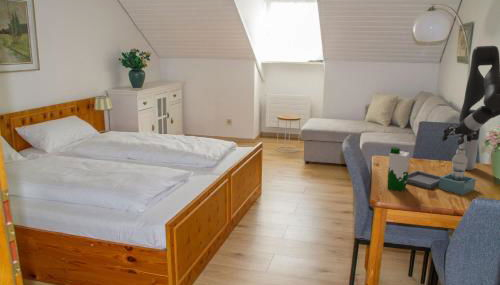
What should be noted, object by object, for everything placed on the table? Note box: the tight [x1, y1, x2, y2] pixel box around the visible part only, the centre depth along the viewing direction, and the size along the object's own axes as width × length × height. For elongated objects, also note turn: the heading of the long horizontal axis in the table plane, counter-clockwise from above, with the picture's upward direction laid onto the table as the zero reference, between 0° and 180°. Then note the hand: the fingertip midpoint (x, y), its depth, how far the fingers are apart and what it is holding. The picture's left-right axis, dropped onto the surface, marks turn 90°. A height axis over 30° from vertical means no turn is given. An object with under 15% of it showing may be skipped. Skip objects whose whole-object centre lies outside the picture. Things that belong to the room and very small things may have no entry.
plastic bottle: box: [450, 147, 467, 183], centre depth 208 cm, size 6×7×20 cm
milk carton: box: [387, 146, 410, 192], centre depth 209 cm, size 9×9×20 cm
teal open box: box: [438, 172, 477, 196], centre depth 210 cm, size 12×12×6 cm
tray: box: [407, 169, 442, 190], centre depth 220 cm, size 16×16×2 cm
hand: (450, 141), depth 215 cm, fingers open, 8 cm apart
